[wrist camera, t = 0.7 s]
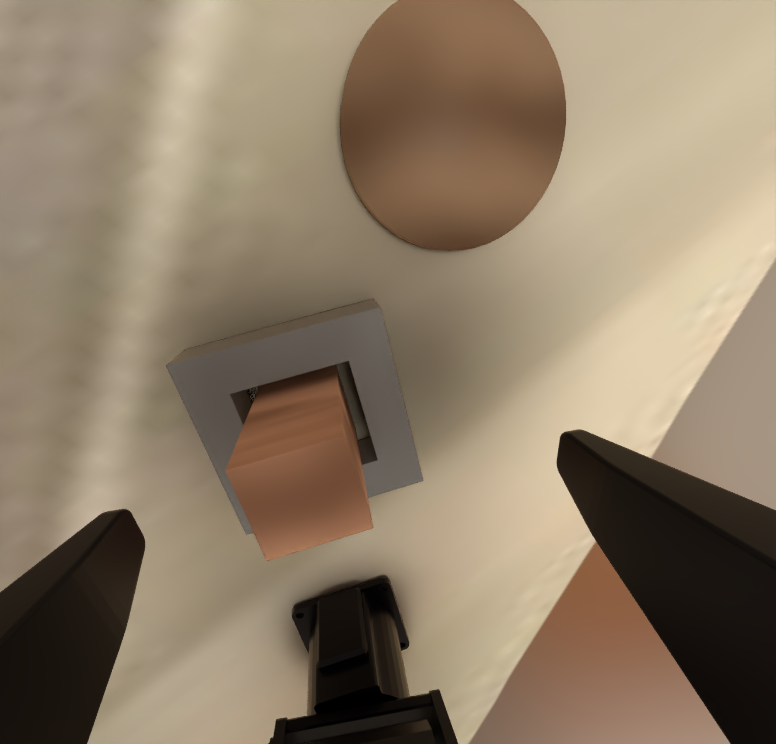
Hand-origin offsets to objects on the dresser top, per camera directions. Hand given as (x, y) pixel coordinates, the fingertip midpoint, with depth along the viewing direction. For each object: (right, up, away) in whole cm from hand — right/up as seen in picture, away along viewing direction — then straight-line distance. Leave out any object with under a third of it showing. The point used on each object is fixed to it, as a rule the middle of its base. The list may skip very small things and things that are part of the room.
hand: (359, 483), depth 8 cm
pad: (+3, +13, +10) cm, 17 cm away
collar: (-4, 0, +13) cm, 13 cm away
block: (-4, 0, +13) cm, 13 cm away
